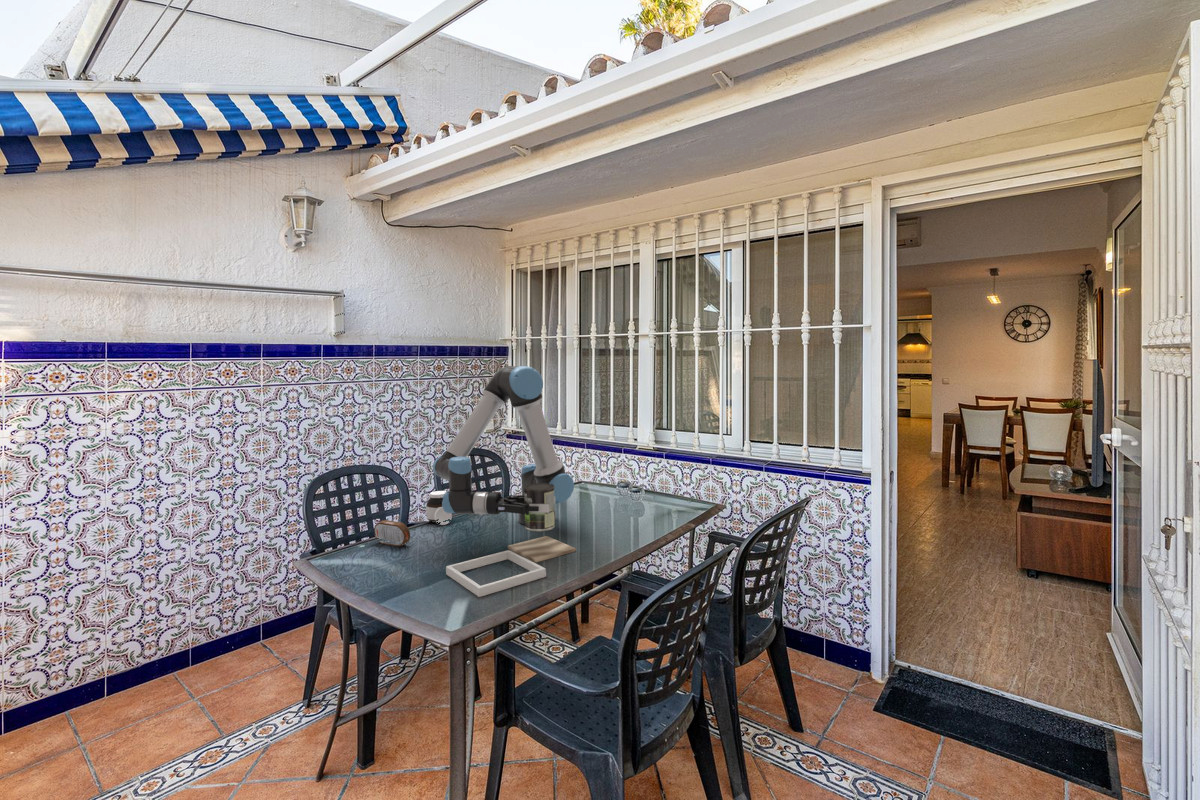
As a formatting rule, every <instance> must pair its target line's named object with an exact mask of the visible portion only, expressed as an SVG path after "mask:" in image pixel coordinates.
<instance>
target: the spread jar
mask: <svg viewBox="0 0 1200 800" xmlns="http://www.w3.org/2000/svg"><path fill="white" fill-rule="evenodd" d="M446 492H447V491H446V490H437V491H432V492H430V493H429V499H428V500H427V502H426V505H425V506H426V507H425V511H426V512H425V513H426V519H427V520H428V521H429V522H430V523H432V524H438V523H439V522H441V523H440V524H439V525H441V526H445V525H447V524H449V523H450V522H449V521H446V522H443V521H445V520H448V519H450V520H451V521H452V518H453V513H446V512H445V511H444V510H443V506H442V501H443V496H444V494H445V493H446ZM437 519H439V520H438V521H435V520H437ZM431 521H435V522H431ZM437 522H438V523H437Z"/></svg>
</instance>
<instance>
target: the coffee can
mask: <svg viewBox="0 0 1200 800" xmlns="http://www.w3.org/2000/svg"><path fill="white" fill-rule="evenodd" d="M524 491H525V504H528V505H529V504H549V513H543V512H529V515H526V514H525V525H524V529H525V530H527V531H530V532H531V531H532V532H547V531H550V530H553V529H554V528H555V521H554V510H555V504H554V485H552V484H547V483H535V484H529V485H526V486H524Z"/></svg>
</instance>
